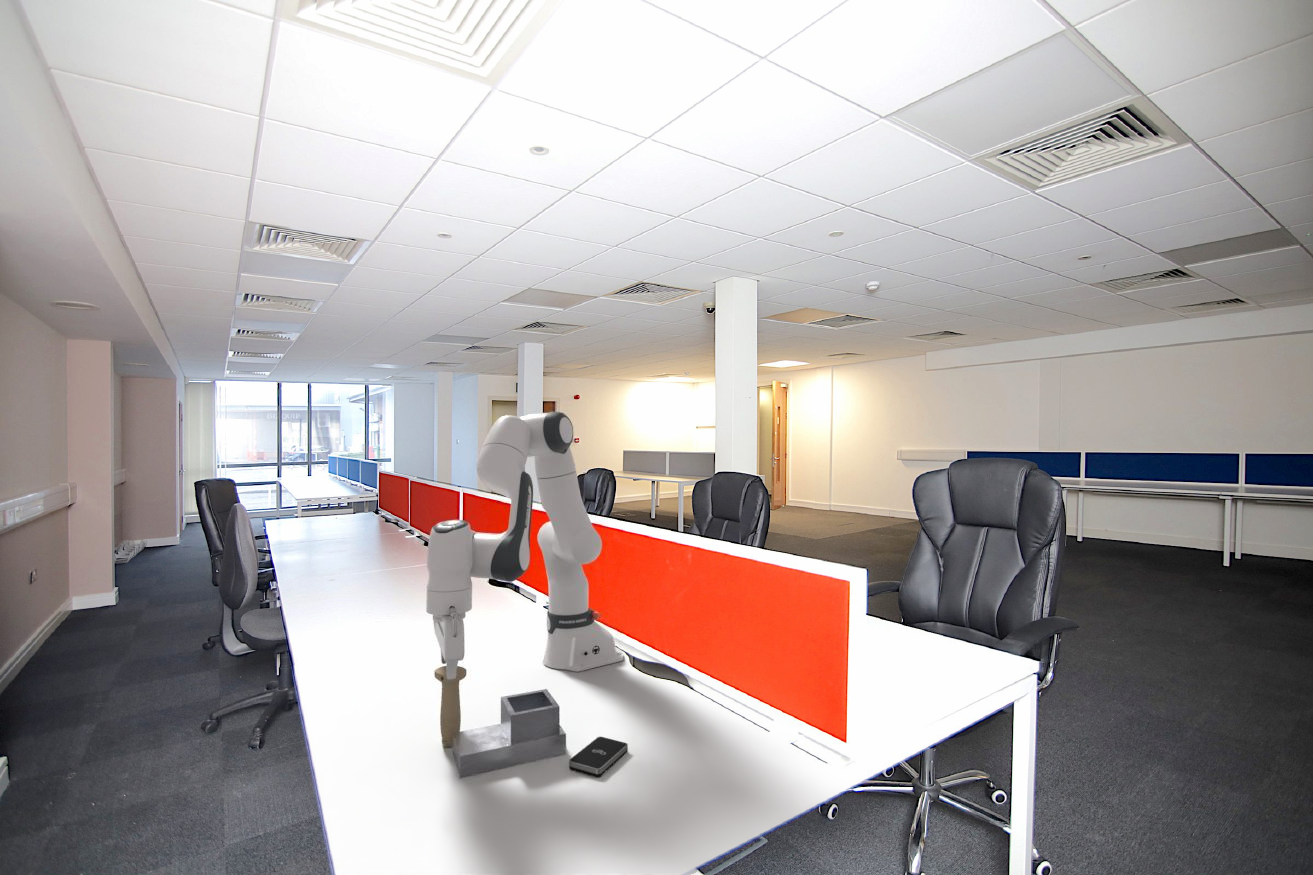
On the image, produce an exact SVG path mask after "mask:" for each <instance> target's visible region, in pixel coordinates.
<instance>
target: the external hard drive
mask: <svg viewBox="0 0 1313 875" xmlns="http://www.w3.org/2000/svg"><path fill="white" fill-rule="evenodd" d="M628 746H629V744H628V743H627V742H624V741H619V740H616V739H612V738H608V737H605V736H597V737H596V738H595V739H593V740H592V741H591V742H590V743H588V744H587V745H586V746H584V747H583V748H582V749H581V750H579V751H578V752H577V753H576V754H575V755H574V756H572V757H571V758H570V759H569V760H568V761H569V762H568V769H569V770H570V771H572V772H573V771H574V772H576V773H579V774H584V775H587V776H590V777H593V778H596V779H597V778H602V776H603V775H604V774H605V773H606V772H608V770H610V769H611V768H612V767H613V766H614V765H615V764H616V763H618V762H619V761H620V760H621V759H622V758H623V757H624V756H625V755H627V753H628V749H629V747H628Z"/></svg>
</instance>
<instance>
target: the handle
mask: <svg viewBox="0 0 1313 875" xmlns="http://www.w3.org/2000/svg"><path fill="white" fill-rule="evenodd" d="M466 676H467V669H466V668H465V667H463V666H458V665H457V669H456V678H455V679H447V677H446V665H444V666H443V665H442V666H440V667H437V668H436V669H434V678H435V679H437V680H438V681H439V682H441V697H440V698H441V700H440V716H439V718H440V719H439V720H440V723H439V724H440V734H441V743H442V745H443V747H444V748H446V749H447V748H453V733H456V732H461V717H462V716H461V714H462V712H461V699H460V698H461V697H460V681H462V680H463V679H465V678H466Z"/></svg>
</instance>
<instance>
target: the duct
mask: <svg viewBox="0 0 1313 875" xmlns="http://www.w3.org/2000/svg"><path fill="white" fill-rule="evenodd" d="M560 717H561V716H560V705H559V704H558V702H557V701H556V700H555V698H554V697H553V696H552V694H551V693H550V692H549V690H548V688H545V689H538V690H533V691H527V692H521V693H517V694H515V693H514V694H510V695H504V696H500V723H497V724H491V725H488V726H483V727H477V728H471V729H466V730H462V731H461V730H460V732H456V733H453V747H452V754H453V758H454V762H455V765H456V770H457V772H458V776H459V779H463V778H467V777H472V776H476V775H480V774H481V775H482V774H485V773H486V774H487V773H489V772H490V773H491V772H494V771H499V770H503V769H507V768H511V767H516V766H521V765H525V764H530V763H533V762H539V761H541V760H547V759H551V758H555V757H560V756H565V755H567V733H566V732H565V730H564V729H563V727H562V726H561V724H560Z"/></svg>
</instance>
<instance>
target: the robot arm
mask: <svg viewBox="0 0 1313 875" xmlns="http://www.w3.org/2000/svg"><path fill="white" fill-rule="evenodd" d="M573 439H574V426H573V423H572V421H571V419H570V418H569V417H568V416H567V415H566V414H565V413H563V412H562V411H549V412H536V413H535V412H534V413H529V414H527V415H522V416H517V415H511V414H507V415H504V416H503V415H502V416H500V417H498V419H496V420H495V422H494V424H492V426H491V428H490V430H489V431H488V433H487V435H486V436H485V439H484V442H483V444H482V447H481V448H480V452H479V455H478V457H477V462H476V472H477V473H476V474H477V476H478V478H479V480H480V481H481V482H482V483H483V484H484V486H486V487H487V488H488V489H490V490H491V491H492V492H495V493H496V494H499V495H502V496H505V497H506V498H507V499H510V512H509V519H508V528H507V530H505V531H503V532H502V533H491V532H488V533H487V532H476V531H475V530H472V529H471V525H470V523H469V522H468V521H466V520H463V519H450V520H444V521H440V522H437V523H436V524H435V525H433V527H431V529H430V533H429V538H428V545H427V554H426V555H427V556H426V559H427V560H426V568H427V572H428V581H427V584H426V602H425V604H426V606H425V607H426V608H425V611H426V613H427V614H429V615H432V621H433V629H434V635H435V638H436V640H437V643H438V646H439V648H440V662H441V663H442V664H443V665H445V666H446V677H447V679H455V678H456V669H457V666H458V664H459V661H463V660H464V658H465V654H466V653H465V624H464V619H465V618H466V613H467V612H469V611H471V610H472V608H473V582H472V578H474V579H475V578H476V579H491V580H496V581H497V580H498V581H504V582H508V583H509V582H510V583H512V582H515V581H516V580H517V579H520V577H521V576H523V575H524V574H526V572H527V571H528V569H529V565H530V562H531V544H530V542H531V539H530V538H531V527H532V518H533V517H532V516H533V504H534V503H533V502H534V485H533V480H532V477H531V475H530V474H529V473H527V472H526V463H527V460H528V458H529V457H530V458H531V457H534V470H535V476H536V481H537V482H536V483H537V488H538V493H539V498H540V503H541V507H542V509H543V510H544V511H545V513H546V515H547V516H548V519H549V521H546V522H545V523H544V524H542V526H541V527H540V528H539V531H538V533H537V542H538V546H539V549H540V550H541V552H542V556H543V562H544V566H545V571H546V577H547V583H548V610H547V614H546V630H547V639H546V647H545V652H544V656H543V659H542V663H543V664H544V666H546V667H548V668H551V669H556V670H567V671H572V672H575V673H576V672H578V673H579V672H583V671H586V670H591V669H594V668H599V667H603V666H606V665H610V664H614V663H618V662H622V661H623V660H624V652H623V651H622V650H621V649H620V648H618V647H617V646H616V643H615V639H614V638H615V637H614V636H613V634H612V633H611V632H610V631H609V630H607V629H606V628H605V627H603V625H601V624H600V623H598V622H597V621H598V620H600V618H601V614H600V612H598V611H596V610H594V609H591V608H590V607H589V581H588V578H587V576H586V574H585V572H584V569H583V566H582V565H586V564H587V565H588V564H590V563H592V562H595V560H597V559H598V557H599V556H600V554H601V552H602V548H603V547H602V546H603V542H602V538H601V535H600V534H599V533H598V531H597V530H596V528H594V526H593V524H592V522H591V519H590V516H589V514H588V512H587V509H586V506H585V505H584V501H583V499H582V496H581V490H580V484H579V480H578V474H577V469H576V463H575V460H574V457H573V454H572V451H571V445H572V442H573ZM595 620H596V621H595Z"/></svg>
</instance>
